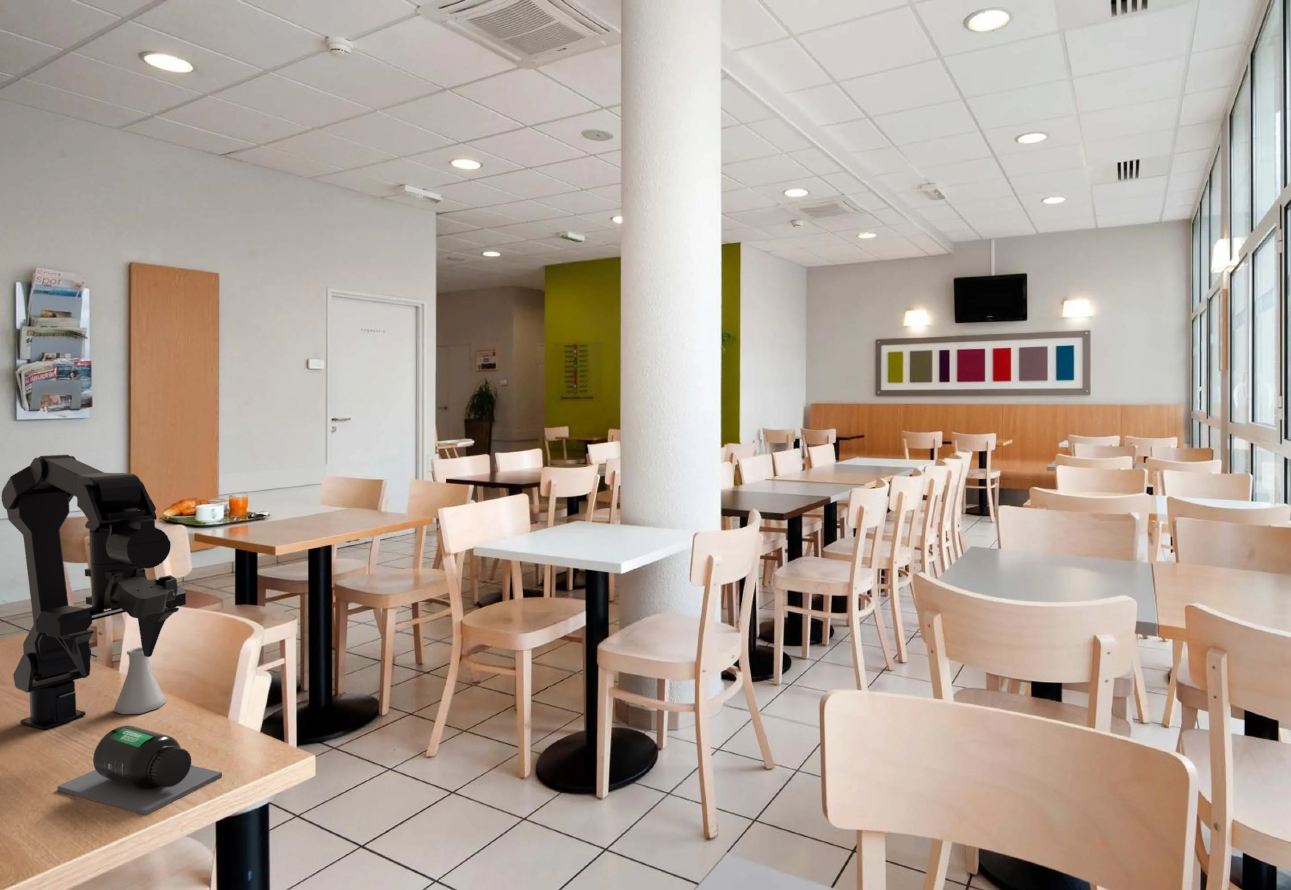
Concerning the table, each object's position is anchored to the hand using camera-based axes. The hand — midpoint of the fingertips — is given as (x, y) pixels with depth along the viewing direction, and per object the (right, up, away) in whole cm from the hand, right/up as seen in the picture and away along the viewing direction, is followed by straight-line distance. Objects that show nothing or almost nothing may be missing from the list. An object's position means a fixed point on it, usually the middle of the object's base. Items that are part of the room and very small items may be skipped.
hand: (118, 665), depth 116 cm
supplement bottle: (+5, -9, -8) cm, 13 cm away
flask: (-8, -12, +18) cm, 23 cm away
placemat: (+9, -14, -9) cm, 19 cm away
